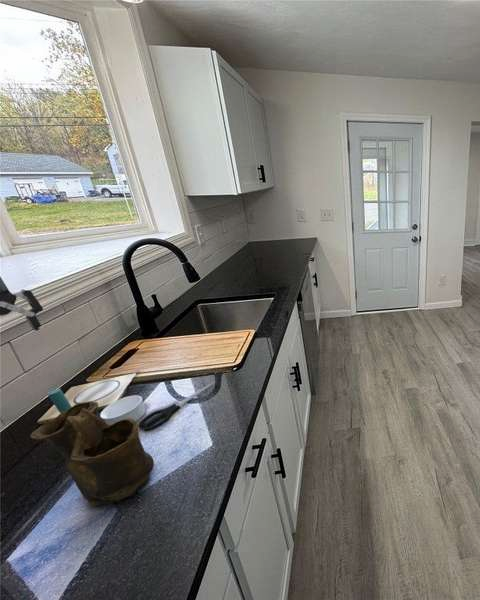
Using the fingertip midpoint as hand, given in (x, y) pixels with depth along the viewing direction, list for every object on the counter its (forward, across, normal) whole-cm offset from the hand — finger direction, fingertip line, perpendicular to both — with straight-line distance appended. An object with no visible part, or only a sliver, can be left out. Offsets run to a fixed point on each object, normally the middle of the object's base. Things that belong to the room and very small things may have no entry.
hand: (12, 337), depth 77 cm
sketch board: (+26, -8, -4) cm, 27 cm away
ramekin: (+26, -7, +18) cm, 33 cm away
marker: (+26, 0, +6) cm, 27 cm away
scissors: (+26, -16, +28) cm, 41 cm away
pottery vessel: (+26, +4, +41) cm, 49 cm away
